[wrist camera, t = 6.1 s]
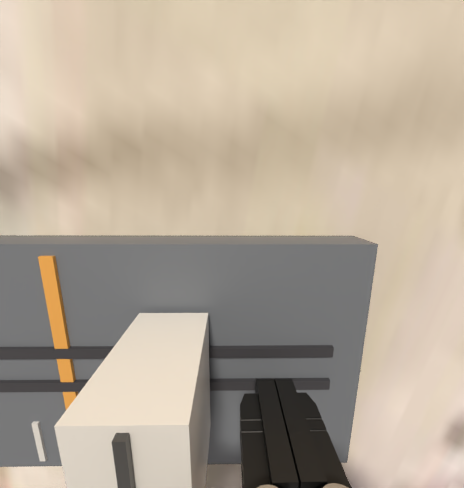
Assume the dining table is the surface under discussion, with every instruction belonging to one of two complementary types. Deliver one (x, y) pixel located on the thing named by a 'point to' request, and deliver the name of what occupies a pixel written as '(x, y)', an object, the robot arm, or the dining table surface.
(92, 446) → the fader cap
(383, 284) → the dining table surface
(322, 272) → the console board
